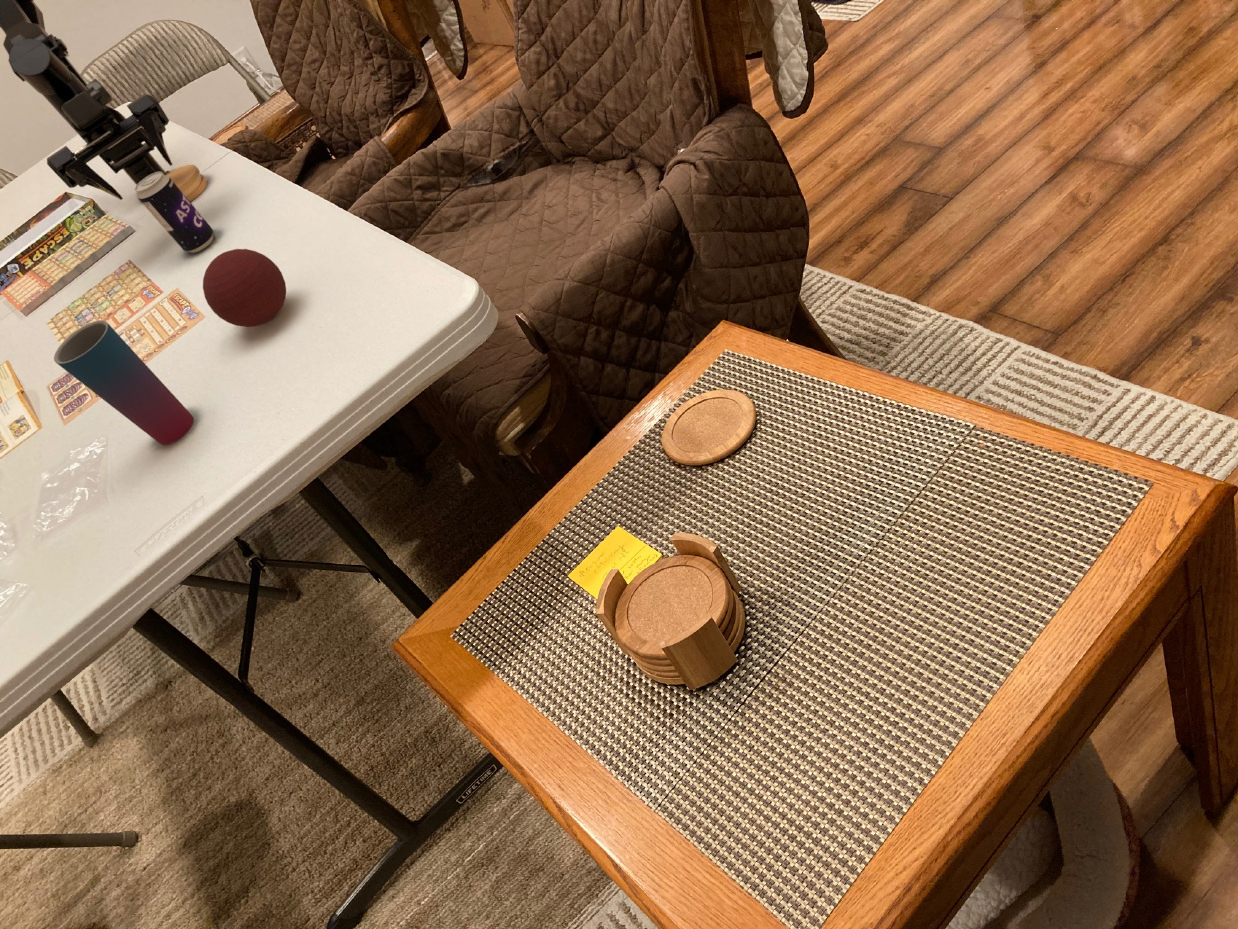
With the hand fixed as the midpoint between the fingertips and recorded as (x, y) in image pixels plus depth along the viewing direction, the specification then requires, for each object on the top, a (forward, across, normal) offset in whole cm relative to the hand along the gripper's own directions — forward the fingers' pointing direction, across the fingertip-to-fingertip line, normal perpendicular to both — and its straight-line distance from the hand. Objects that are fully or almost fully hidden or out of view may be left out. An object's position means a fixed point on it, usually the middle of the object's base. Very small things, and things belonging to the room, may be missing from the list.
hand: (146, 180), depth 136 cm
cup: (+42, -19, -26) cm, 53 cm away
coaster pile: (-7, +4, +22) cm, 24 cm away
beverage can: (+11, 0, +5) cm, 12 cm away
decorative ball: (+36, -1, -20) cm, 41 cm away
